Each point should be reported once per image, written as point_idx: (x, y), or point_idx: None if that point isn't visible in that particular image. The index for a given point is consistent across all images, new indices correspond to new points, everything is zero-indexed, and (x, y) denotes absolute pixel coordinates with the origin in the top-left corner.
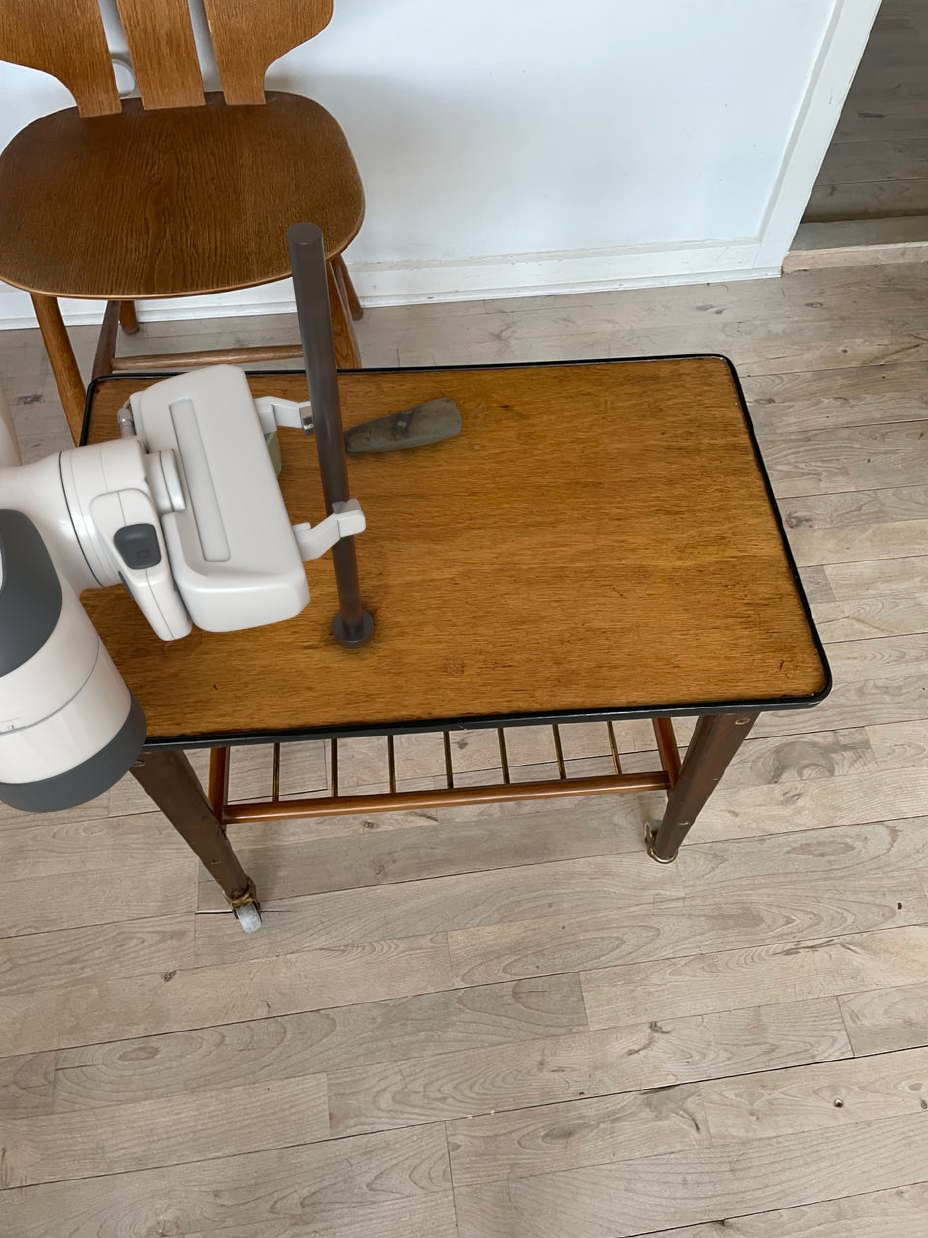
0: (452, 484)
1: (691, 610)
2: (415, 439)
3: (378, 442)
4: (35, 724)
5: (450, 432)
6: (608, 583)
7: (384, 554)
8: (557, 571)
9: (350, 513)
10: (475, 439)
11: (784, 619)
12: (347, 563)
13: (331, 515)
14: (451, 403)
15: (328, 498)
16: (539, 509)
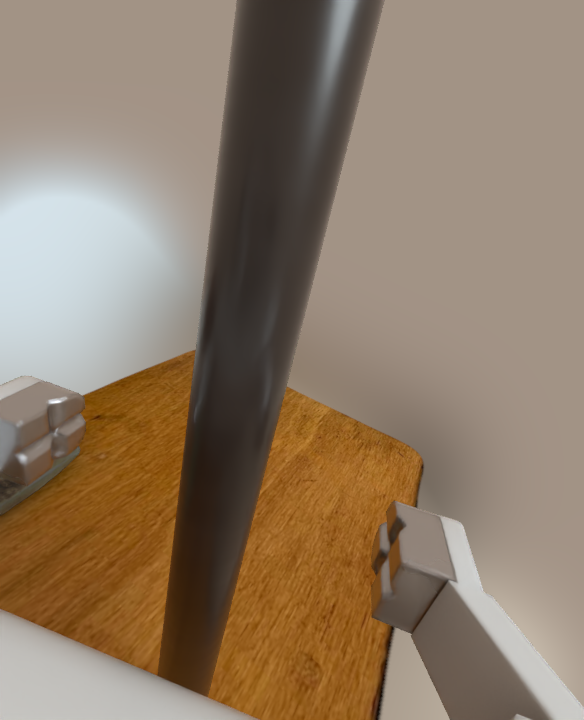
0: (110, 498)
1: (345, 459)
2: (34, 482)
3: None
4: None
5: (71, 455)
6: (297, 479)
7: (101, 633)
8: (264, 498)
9: (455, 540)
10: (94, 451)
11: (371, 433)
12: None
13: (462, 596)
14: None
15: (218, 588)
16: None
